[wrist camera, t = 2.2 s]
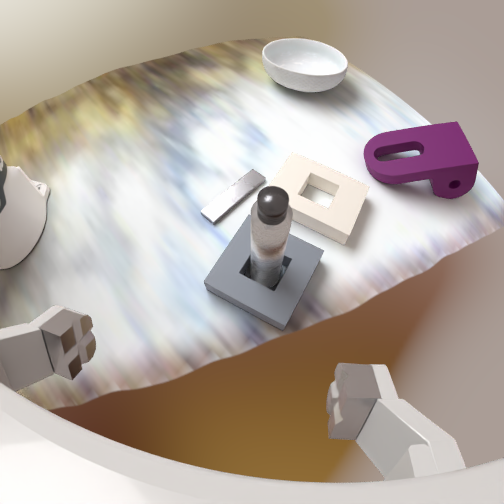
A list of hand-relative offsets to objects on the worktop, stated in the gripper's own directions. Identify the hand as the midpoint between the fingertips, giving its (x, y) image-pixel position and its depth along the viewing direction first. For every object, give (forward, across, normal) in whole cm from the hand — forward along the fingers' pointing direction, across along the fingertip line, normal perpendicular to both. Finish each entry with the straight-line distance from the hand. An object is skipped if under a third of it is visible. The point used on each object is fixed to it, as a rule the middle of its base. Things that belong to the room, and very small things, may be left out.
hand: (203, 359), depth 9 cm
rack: (+35, -6, -1) cm, 35 cm away
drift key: (+34, +5, 0) cm, 35 cm away
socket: (+26, 0, +8) cm, 28 cm away
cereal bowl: (+57, -2, -22) cm, 61 cm away
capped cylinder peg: (+26, 0, +8) cm, 28 cm away
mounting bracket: (+43, -22, -7) cm, 49 cm away
